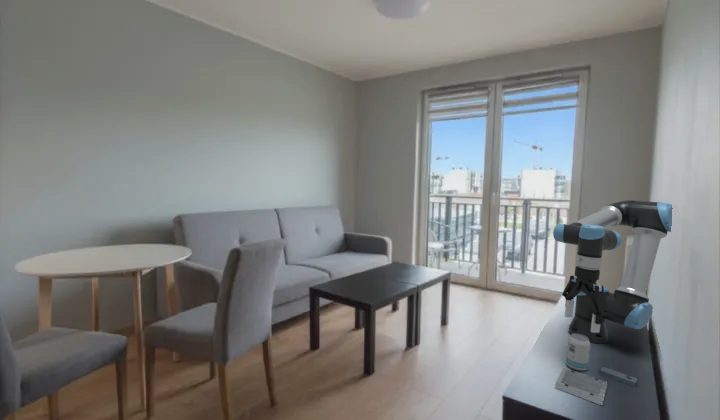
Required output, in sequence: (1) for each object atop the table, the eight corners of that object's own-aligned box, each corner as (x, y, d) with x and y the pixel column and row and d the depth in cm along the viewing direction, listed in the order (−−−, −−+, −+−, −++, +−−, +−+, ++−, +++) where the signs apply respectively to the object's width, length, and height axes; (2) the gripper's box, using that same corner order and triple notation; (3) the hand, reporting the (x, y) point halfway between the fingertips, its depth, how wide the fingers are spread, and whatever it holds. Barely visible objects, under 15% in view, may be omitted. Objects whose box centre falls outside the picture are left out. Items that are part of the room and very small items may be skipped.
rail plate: (562, 372, 127) (563, 367, 127) (606, 387, 119) (607, 382, 119) (555, 388, 117) (555, 382, 117) (602, 405, 109) (603, 399, 109)
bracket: (601, 371, 131) (601, 366, 130) (636, 383, 123) (637, 378, 123) (599, 375, 128) (599, 369, 128) (635, 388, 121) (635, 382, 120)
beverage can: (590, 374, 128) (594, 342, 126) (570, 371, 129) (573, 339, 128) (582, 364, 134) (585, 333, 133) (562, 361, 135) (565, 331, 134)
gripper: (555, 259, 140) (550, 311, 142) (604, 276, 115) (597, 339, 117) (573, 259, 141) (567, 311, 143) (626, 277, 116) (618, 339, 118)
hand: (581, 324), depth 130 cm, fingers open, 13 cm apart
